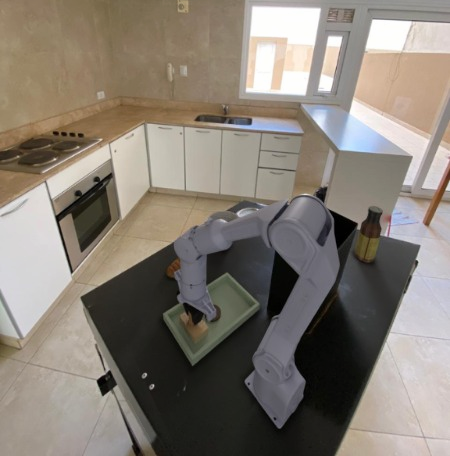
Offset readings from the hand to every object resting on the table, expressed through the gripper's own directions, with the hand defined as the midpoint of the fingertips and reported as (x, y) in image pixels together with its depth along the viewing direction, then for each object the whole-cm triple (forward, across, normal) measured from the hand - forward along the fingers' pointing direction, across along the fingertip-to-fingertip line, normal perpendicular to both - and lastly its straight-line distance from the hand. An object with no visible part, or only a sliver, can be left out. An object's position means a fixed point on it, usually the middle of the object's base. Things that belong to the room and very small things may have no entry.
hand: (193, 317), depth 62 cm
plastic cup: (+4, -19, +25) cm, 32 cm away
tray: (+4, 0, +6) cm, 7 cm away
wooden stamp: (+4, 0, 0) cm, 4 cm away
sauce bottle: (+4, +16, +61) cm, 63 cm away
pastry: (+4, -18, +8) cm, 20 cm away
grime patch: (+4, 0, +6) cm, 7 cm away
